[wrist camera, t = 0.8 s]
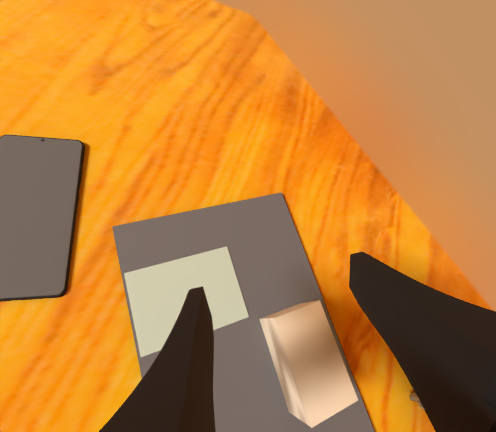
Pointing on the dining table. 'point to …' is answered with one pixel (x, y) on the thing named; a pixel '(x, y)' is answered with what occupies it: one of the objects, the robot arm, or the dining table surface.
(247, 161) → the dining table surface
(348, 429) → the rubber mat
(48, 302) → the dining table surface
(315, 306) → the birch block
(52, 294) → the smartphone
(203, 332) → the robot arm
